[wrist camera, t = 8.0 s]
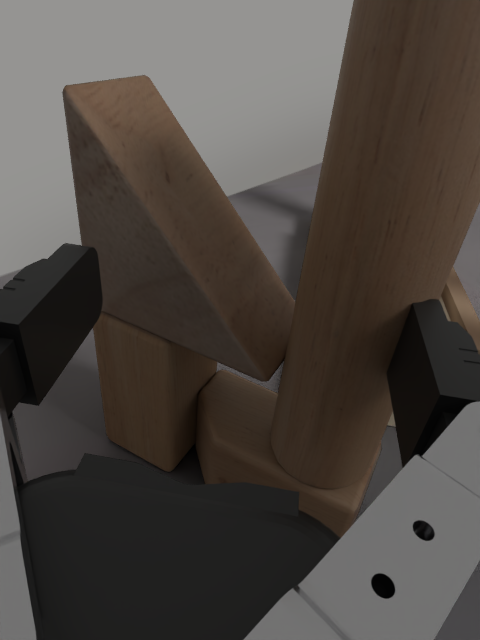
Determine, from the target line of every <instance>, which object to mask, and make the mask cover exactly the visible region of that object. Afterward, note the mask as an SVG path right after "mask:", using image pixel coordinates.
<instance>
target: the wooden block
mask: <svg viewBox="0 0 480 640" xmlns="http://www.w3.org/2000/svg"><path fill="white" fill-rule="evenodd" d="M63 100H64V108H65V116H66V124H67V131H68V140H69V148H70V155H71V163H72V171H73V179H74V187H75V195H76V203H77V211H78V218H79V226H80V234H81V242H82V246H88V247H93V248H95V249H96V251H97V253H98V259H99V268H100V277H101V287H102V296H103V304H102V310H101V314H100V317H99V319H98V321H97V322H96V324H95V325H94V326H93V330H94V338H95V346H96V354H97V362H98V370H99V378H100V386H101V394H102V402H103V410H104V418H105V426H106V434H107V436H108V438H109V439H110V440H111V441H112V442H114V443H116V444H118V445H119V446H121V447H123V448H125V449H126V450H128V451H130V452H132V453H134V454H135V455H137V456H139V457H141V458H142V459H144V460H146V461H148V462H150V463H151V464H153V465H155V466H157V467H158V468H160V469H162V470H164V471H167V472H170V471H172V470H173V469H174V468H175V467H176V466H177V465H178V463H179V462H180V461H181V460H182V458H183V457H184V456H185V455H186V453H187V452H188V451H189V450H190V449H191V447H192V446H193V445H194V444H195V442H196V450H197V454H198V458H199V462H200V466H201V470H202V474H203V478H204V482H205V484H220V483H240V482H247V483H252V484H258V485H263V486H269V487H275V488H280V489H286V490H291V491H297V492H299V510H301V511H303V512H305V513H307V514H309V515H311V516H312V517H314V518H316V519H318V520H319V521H321V522H322V523H323V524H325V525H326V526H327V527H329V528H330V529H331V530H332V531H334V532H335V533H336V534H337V535H338V536H339V537H340V538H341V537H342V536H343V535H344V534H345V533H346V532H347V531H348V530H349V528H350V527H351V526H352V525H353V524H354V522H355V520H356V517H357V515H358V513H359V510H360V507H361V505H362V502H363V499H364V496H365V494H366V491H367V488H368V485H369V483H370V480H371V477H372V474H373V472H374V469H375V466H376V464H377V461H378V458H379V455H380V453H381V450H382V447H381V439H382V437H383V434H384V432H385V429H386V427H387V424H388V422H389V420H390V417H391V415H392V412H393V408H392V403H391V397H390V391H389V385H388V380H387V374H386V373H387V370H388V368H389V365H390V362H391V360H392V357H393V354H394V351H395V349H396V346H397V343H398V341H399V338H400V335H401V333H402V330H403V327H404V325H405V322H406V319H407V317H408V314H409V311H410V309H411V306H412V303H416V302H423V301H426V300H429V299H438V300H439V299H440V296H441V294H442V292H443V289H444V287H445V284H446V282H447V279H448V277H449V275H450V272H451V270H452V267H453V265H454V263H455V260H456V258H457V255H458V253H459V250H460V248H461V246H462V243H463V241H464V238H465V236H466V234H467V231H468V229H469V226H470V224H471V221H472V219H473V217H474V214H475V212H476V209H477V207H478V205H479V202H480V0H354V2H353V7H352V12H351V18H350V23H349V28H348V33H347V39H346V43H345V48H344V54H343V59H342V64H341V69H340V74H339V80H338V85H337V90H336V95H335V100H334V106H333V111H332V116H331V121H330V127H329V132H328V137H327V142H326V147H325V152H324V158H323V163H322V168H321V173H320V178H319V183H318V188H317V194H316V199H315V204H314V209H313V214H312V220H311V225H310V230H309V235H308V240H307V245H306V251H305V256H304V261H303V266H302V271H301V277H300V282H299V287H298V292H297V297H296V303H295V301H294V299H293V298H292V296H291V295H290V293H289V292H288V290H287V289H286V287H285V286H284V284H283V283H282V281H281V279H280V278H279V276H278V275H277V273H276V272H275V270H274V269H273V267H272V266H271V264H270V263H269V261H268V259H267V258H266V256H265V255H264V253H263V252H262V250H261V249H260V247H259V246H258V244H257V243H256V241H255V239H254V238H253V236H252V235H251V233H250V232H249V230H248V229H247V227H246V226H245V224H244V223H243V221H242V219H241V218H240V216H239V215H238V213H237V212H236V210H235V209H234V207H233V206H232V204H231V203H230V201H229V200H228V198H227V196H226V195H225V193H224V192H223V191H222V189H221V187H220V186H219V184H218V183H217V181H216V180H215V178H214V176H213V175H212V173H211V172H210V170H209V169H208V167H207V166H206V165H205V163H204V161H203V160H202V158H201V157H200V155H199V153H198V152H197V150H196V149H195V147H194V146H193V144H192V143H191V141H190V140H189V138H188V136H187V135H186V133H185V132H184V130H183V129H182V127H181V126H180V124H179V123H178V121H177V120H176V118H175V116H174V115H173V113H172V112H171V111H170V109H169V107H168V106H167V104H166V103H165V101H164V100H163V98H162V96H161V95H160V93H159V92H158V91H157V89H156V87H155V86H154V85H153V83H152V81H151V80H150V78H149V77H147V76H145V75H142V76H134V77H127V78H119V79H111V80H105V81H97V82H89V83H81V84H73V85H66V86H65V87H64V89H63ZM284 359H285V360H284ZM283 361H284V365H283V370H282V375H281V380H280V385H279V391H278V393H276V392H273V391H271V390H269V389H267V388H264V387H262V386H260V385H258V384H255V383H253V382H251V381H249V380H246V379H244V378H242V377H240V376H237V375H235V374H233V373H231V372H229V371H226V370H219V371H218V372H217V373H216V370H217V362H219V363H221V364H223V365H226V366H228V367H230V368H233V369H235V370H237V371H239V372H242V373H244V374H246V375H248V376H251V377H253V378H255V379H258V380H260V381H269V379H270V378H271V377H272V375H273V374H274V373H275V371H276V370H277V369H278V367H279V366H280V365H281V363H282V362H283Z"/></svg>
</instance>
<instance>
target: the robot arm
mask: <svg viewBox="0 0 480 640" xmlns="http://www.w3.org/2000/svg"><path fill="white" fill-rule="evenodd" d="M102 304H103V296H102V287H101V277H100V268H99V259H98V253H97V251H96V249H95V248H93V247H88V246H81V245H74V244H68V243H66V244H63V245H62V246H61V247H60V248H59V249H58V250H57V251H55V252H54V253H53V255H51V256H50V257H49V258H48V259H41V260H39V261H37V262H35V263H33V264H30V265H28V266H26V267H24V268H23V269H22V270H21V271H20V272H19V273H18V274H17V275H16V276H15V277H13V280H10V281H9V282H8V283H7V284H6V285H5V286H4V287H3V289H0V640H434V638H435V637H436V635H437V633H438V632H439V630H440V628H441V626H442V625H443V623H444V621H445V619H446V618H447V616H448V614H449V613H450V611H451V609H452V607H453V606H454V604H455V602H456V600H457V599H458V597H459V595H460V594H461V592H462V590H463V588H464V587H465V585H466V583H467V581H468V580H469V578H470V576H471V575H472V573H473V571H474V569H475V568H476V566H477V564H478V563H479V561H480V354H478V349H477V347H476V345H475V343H474V340H473V338H472V336H471V335H470V334H469V333H468V332H467V331H466V330H465V329H464V328H463V327H462V326H461V325H460V324H459V323H458V322H452V321H448V320H447V317H446V315H445V312H444V310H443V307H442V305H441V302H440V301H439V300H438V299H429V300H426V301H423V302H416V303H412V306H411V309H410V311H409V314H408V317H407V319H406V322H405V325H404V327H403V330H402V333H401V335H400V338H399V341H398V343H397V346H396V349H395V351H394V354H393V357H392V360H391V362H390V365H389V368H388V370H387V373H386V374H387V380H388V385H389V391H390V397H391V403H392V408H393V414H394V420H395V426H396V431H397V437H398V443H399V449H400V454H401V460H402V466H403V469H402V470H401V471H400V472H399V473H398V474H397V476H396V477H395V478H394V479H393V480H392V481H391V482H390V483H389V485H388V486H387V487H386V488H385V489H384V490H383V491H382V492H381V494H380V495H379V496H378V497H377V498H376V499H375V500H374V501H373V503H372V504H371V505H370V506H369V507H368V508H367V509H366V510H365V512H364V513H363V514H362V515H361V516H360V517H359V518H358V519H357V521H356V522H355V523H354V524H353V525H352V526H351V527H350V528H349V530H348V531H347V532H346V533H345V534H344V535H343V536H342V537H341V538H340V537H339V536H338V535H337V534H336V533H335V532H334V531H332V530H331V529H330V528H329V527H327V526H326V525H325V524H323V523H322V522H321V521H319V520H318V519H316V518H314V517H312V516H311V515H309V514H307V513H305V512H303V511H301V510H299V492H297V491H291V490H286V489H280V488H275V487H269V486H263V485H258V484H252V483H247V482H240V483H220V484H200V485H188V484H184V483H181V482H179V481H176V480H174V479H172V478H170V477H167V476H165V475H163V474H161V473H159V472H156V471H154V470H152V469H150V468H147V467H145V466H143V465H141V464H138V463H136V462H131V461H125V460H120V459H114V458H109V457H103V456H97V455H92V454H86V453H85V454H84V456H83V458H82V460H81V462H80V464H79V466H78V468H77V469H76V470H68V471H61V472H56V473H52V474H48V475H44V476H41V477H39V478H36V479H33V480H30V481H28V480H27V476H26V471H25V466H24V461H23V456H22V452H21V447H20V442H19V437H18V432H17V427H16V422H15V418H14V415H13V409H14V408H15V407H16V405H17V404H18V403H19V402H21V403H26V404H32V405H38V406H39V404H40V403H41V401H42V400H43V398H44V397H45V396H46V394H47V393H48V391H49V390H50V388H51V387H52V386H53V384H54V383H55V381H56V380H57V378H58V377H59V375H60V374H61V373H62V371H63V370H64V368H65V367H66V365H67V364H68V362H69V361H70V360H71V358H72V357H73V355H74V354H75V352H76V351H77V350H78V348H79V347H80V345H81V344H82V342H83V341H84V339H85V338H86V337H87V335H88V334H89V332H90V331H91V329H92V328H93V326H94V325H95V324H96V322H97V321H98V319H99V317H100V314H101V310H102Z"/></svg>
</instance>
